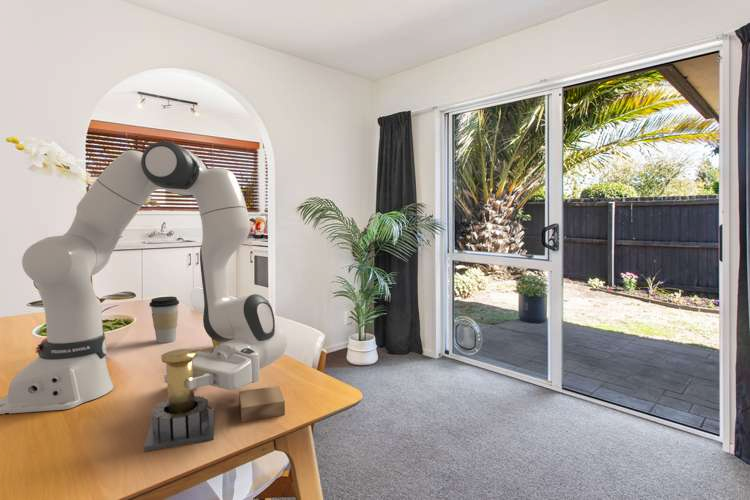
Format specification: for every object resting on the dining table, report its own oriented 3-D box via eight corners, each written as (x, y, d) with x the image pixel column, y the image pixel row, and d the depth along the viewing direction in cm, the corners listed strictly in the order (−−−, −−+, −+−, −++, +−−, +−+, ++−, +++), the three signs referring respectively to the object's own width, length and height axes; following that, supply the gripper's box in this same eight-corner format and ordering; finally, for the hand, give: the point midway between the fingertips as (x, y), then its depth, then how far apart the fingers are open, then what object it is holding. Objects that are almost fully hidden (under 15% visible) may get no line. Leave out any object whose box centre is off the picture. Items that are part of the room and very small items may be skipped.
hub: (143, 451, 78) (142, 425, 77) (153, 422, 89) (151, 399, 88) (213, 439, 82) (212, 414, 81) (214, 412, 93) (213, 390, 93)
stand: (241, 421, 89) (241, 407, 89) (239, 404, 97) (239, 391, 97) (284, 414, 92) (284, 401, 92) (279, 398, 100) (278, 385, 100)
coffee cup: (172, 344, 143) (170, 301, 142) (145, 344, 143) (143, 301, 142) (185, 336, 153) (183, 296, 151) (159, 336, 153) (157, 296, 152)
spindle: (158, 420, 82) (155, 359, 81) (172, 405, 88) (169, 349, 87) (192, 419, 82) (189, 358, 81) (204, 404, 88) (201, 348, 87)
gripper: (198, 341, 100) (143, 358, 88) (263, 353, 91) (211, 375, 79) (200, 367, 101) (145, 388, 89) (264, 382, 91) (212, 408, 79)
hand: (176, 382), depth 84 cm, fingers closed on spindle, 5 cm apart
